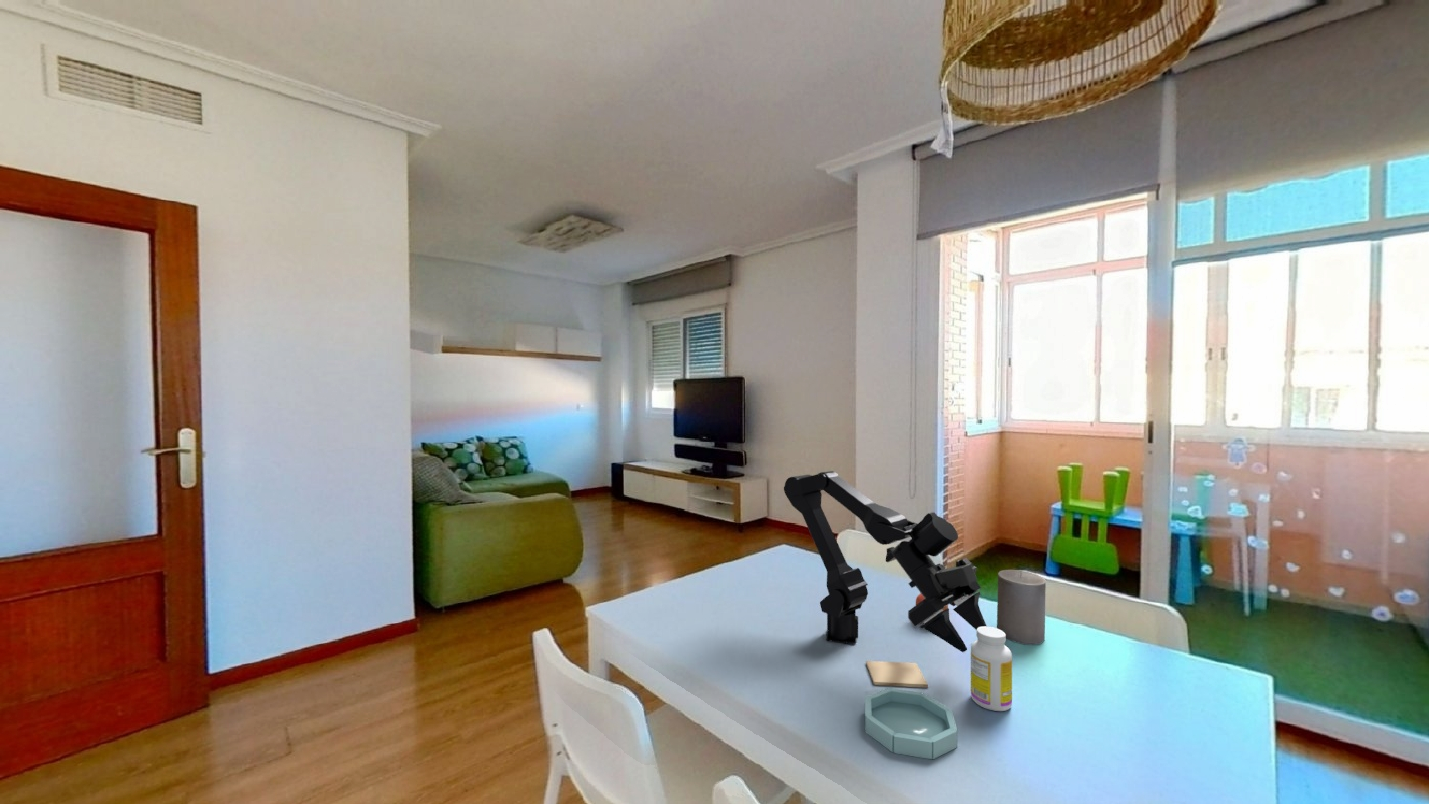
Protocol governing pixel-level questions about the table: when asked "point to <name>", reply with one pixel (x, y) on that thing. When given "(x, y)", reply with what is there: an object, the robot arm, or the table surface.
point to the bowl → (910, 723)
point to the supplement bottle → (991, 670)
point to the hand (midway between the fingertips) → (976, 643)
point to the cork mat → (896, 674)
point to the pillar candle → (1021, 606)
